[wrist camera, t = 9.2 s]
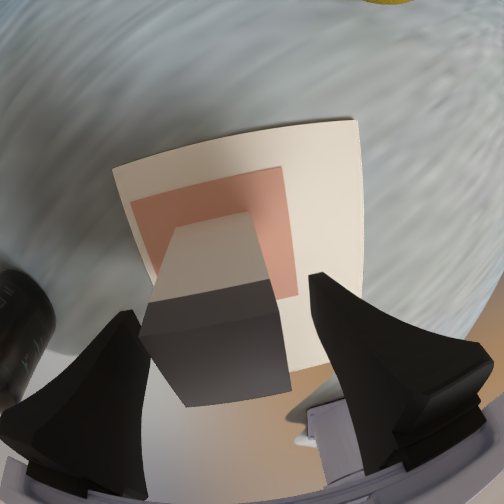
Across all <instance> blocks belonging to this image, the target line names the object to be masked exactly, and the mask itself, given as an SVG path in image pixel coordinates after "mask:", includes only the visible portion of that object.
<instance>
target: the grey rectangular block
mask: <svg viewBox="0 0 504 504" xmlns="http://www.w3.org/2000/svg"><path fill="white" fill-rule="evenodd" d="M138 337H139V339H140V340H141V342H142V344H143V345H144V347H145V349H146V350H147V352H148V353H149V355H150V356H151V358H152V360H153V361H154V363H155V364H156V366H157V367H158V369H159V370H160V372H161V373H162V375H163V376H164V377H165V379H166V380H167V382H168V383H169V385H170V386H171V388H172V389H173V390H174V392H175V393H176V394H177V396H178V397H179V399H180V400H181V401H182V403H183V404H184V405H185V406H186V407H196V406H206V405H215V404H223V403H230V402H237V401H243V400H249V399H255V398H261V397H266V396H271V395H276V394H281V393H285V392H290V391H292V388H291V382H290V376H289V369H288V362H287V356H286V350H285V343H284V337H283V331H282V325H281V319H280V313H279V309H278V305H277V302H276V298H275V295H274V291H273V288H272V285H271V281H270V278H269V274H268V271H267V267H266V264H265V261H264V257H263V254H262V250H261V247H260V244H259V240H258V237H257V233H256V230H255V227H254V223H253V220H252V217H251V213H250V211H246V212H242V213H237V214H232V215H228V216H223V217H219V218H214V219H210V220H206V221H201V222H197V223H193V224H188V225H184V226H180V227H176V228H175V230H174V232H173V235H172V238H171V240H170V243H169V246H168V248H167V251H166V254H165V256H164V259H163V262H162V265H161V268H160V270H159V273H158V276H157V279H156V282H155V285H154V288H153V291H152V294H151V297H150V300H149V303H148V306H147V309H146V313H145V316H144V319H143V322H142V326H141V329H140V333H139V336H138Z"/></svg>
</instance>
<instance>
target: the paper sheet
mask: <svg viewBox="0 0 504 504" xmlns="http://www.w3.org/2000/svg"><path fill="white" fill-rule="evenodd" d="M112 172H113V175H114V179H115V182H116V185H117V189H118V192H119V195H120V198H121V201H122V204H123V207H124V210H125V213H126V216H127V219H128V222H129V225H130V228H131V230H132V233H133V236H134V239H135V241H136V244H137V247H138V249H139V252H140V254H141V257H142V259H143V262H144V264H145V267H146V269H147V272H148V274H149V277H150V279H151V281H152V284H153V286H154V285H155V282H156V279H157V276H158V273H159V270H160V268H161V265H162V262H163V259H164V256H165V254H166V251H167V248H168V246H169V243H170V240H171V238H172V235H173V232H174V230H175V228H176V227H180V226H184V225H188V224H193V223H197V222H201V221H206V220H210V219H214V218H219V217H223V216H228V215H232V214H237V213H242V212H246V211H250V213H251V217H252V220H253V223H254V227H255V230H256V233H257V237H258V240H259V244H260V247H261V250H262V254H263V257H264V261H265V264H266V267H267V271H268V274H269V278H270V281H271V285H272V288H273V291H274V295H275V298H276V302H277V305H278V309H279V313H280V319H281V325H282V331H283V337H284V343H285V350H286V356H287V362H288V369H289V372H293V371H297V370H301V369H305V368H309V367H313V366H317V365H321V364H324V363H328V362H330V360H329V358H328V356H327V354H326V352H325V350H324V348H323V346H322V344H321V341H320V339H319V337H318V335H317V332H316V329H315V326H314V323H313V320H312V317H311V309H310V295H309V282H308V275H311V274H315V273H319V272H324V273H325V274H327V275H328V276H330V277H331V278H332V279H334V280H335V281H336V282H338V283H339V284H341V285H342V286H343V287H345V288H346V289H347V290H349V291H350V292H352V293H353V294H355V295H356V296H358V297H359V298H361V295H362V280H363V256H364V200H363V177H362V161H361V149H360V138H359V129H358V120H342V121H329V122H318V123H309V124H300V125H292V126H285V127H278V128H271V129H265V130H259V131H253V132H247V133H242V134H237V135H232V136H227V137H222V138H217V139H213V140H208V141H204V142H200V143H196V144H192V145H188V146H184V147H180V148H176V149H173V150H169V151H166V152H162V153H159V154H155V155H152V156H149V157H145V158H142V159H139V160H136V161H133V162H130V163H127V164H124V165H121V166H118V167H115V168H113V169H112Z"/></svg>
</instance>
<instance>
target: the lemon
mask: <svg viewBox="0 0 504 504" xmlns="http://www.w3.org/2000/svg"><path fill="white" fill-rule="evenodd" d="M363 1H366V2H371V3H376V4H402V3H406V2H410V1H413V0H363Z"/></svg>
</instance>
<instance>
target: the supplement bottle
mask: <svg viewBox="0 0 504 504" xmlns="http://www.w3.org/2000/svg"><path fill="white" fill-rule="evenodd" d="M54 330H55V315H54V312H53V309H52V307H51V304H50V302H49V300H48V299H47V297H46V296H45V294H44V293H43V291H42V290H41V289H40V288H39V287H38V286H37V285H36V284H35V283H34V282H33V281H32V280H31V279H30V278H28V277H27V276H25V275H24V274H22V273H20V272H17V271H12V270H7V271H3V272H1V273H0V414H2V412H3V411H4V410H6V409H8V408H10V407H12V406H14V405H16V404H18V403H20V402H21V400H22V397H23V395H24V392H25V390H26V388H27V386H28V383H29V381H30V379H31V377H32V375H33V372H34V371H35V368H36V366H37V364H38V362H39V360H40V358H41V356H42V354H43V352H44V351H45V349H46V347H47V345H48V343H49V341H50V339H51V337H52V335H53V333H54Z"/></svg>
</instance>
